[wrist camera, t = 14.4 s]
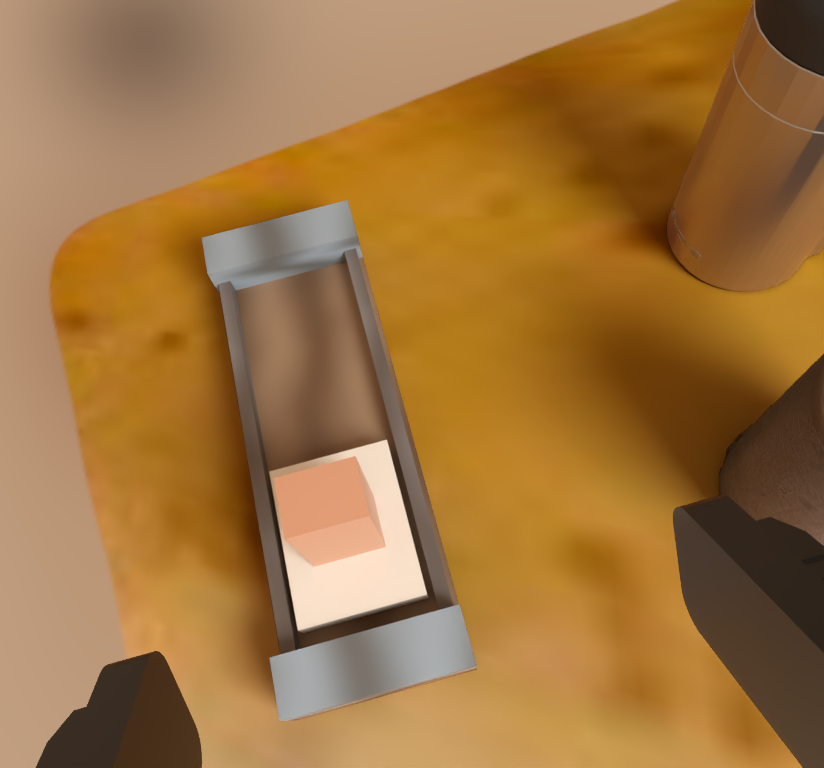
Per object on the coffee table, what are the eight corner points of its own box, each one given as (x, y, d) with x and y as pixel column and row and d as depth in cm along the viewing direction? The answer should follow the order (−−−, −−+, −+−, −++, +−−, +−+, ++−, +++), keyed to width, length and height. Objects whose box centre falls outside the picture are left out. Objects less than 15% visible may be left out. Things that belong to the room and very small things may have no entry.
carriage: (389, 448, 43) (371, 392, 35) (428, 598, 39) (417, 571, 32) (275, 479, 43) (233, 429, 35) (304, 633, 39) (263, 614, 31)
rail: (356, 235, 52) (347, 200, 48) (476, 669, 39) (476, 665, 35) (220, 271, 51) (201, 237, 48) (297, 720, 39) (279, 721, 35)
